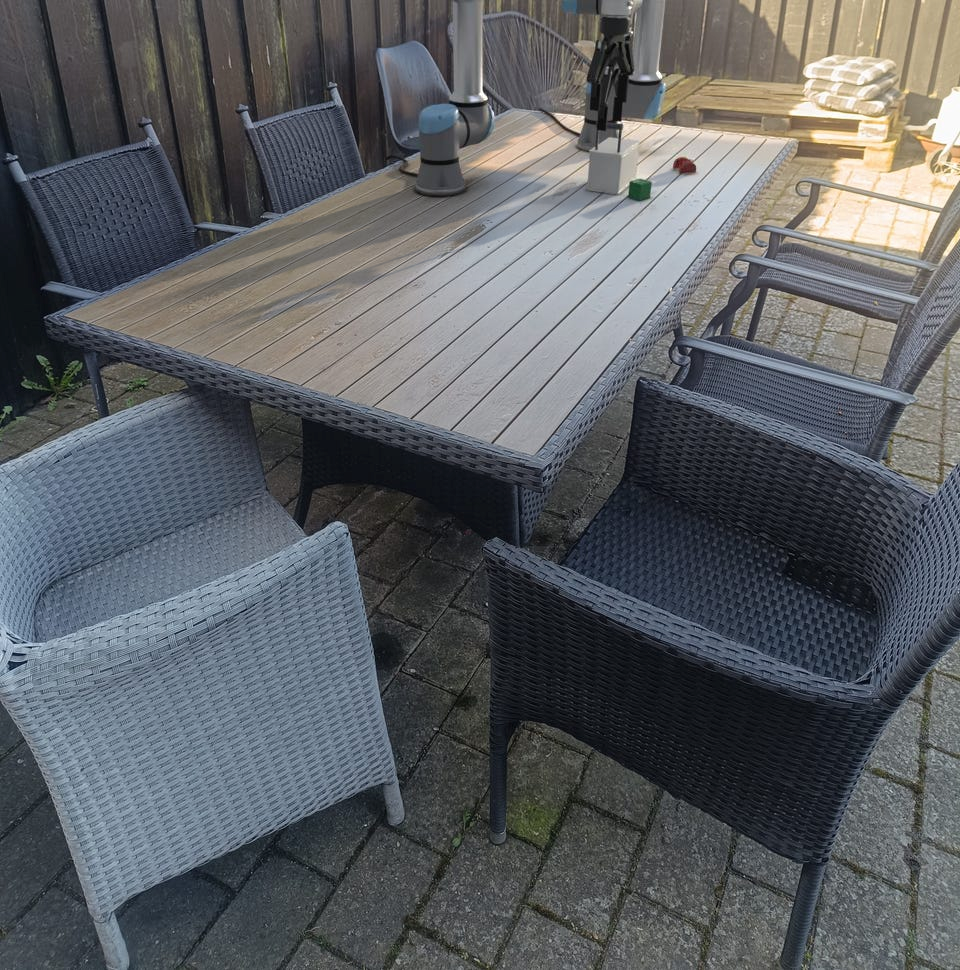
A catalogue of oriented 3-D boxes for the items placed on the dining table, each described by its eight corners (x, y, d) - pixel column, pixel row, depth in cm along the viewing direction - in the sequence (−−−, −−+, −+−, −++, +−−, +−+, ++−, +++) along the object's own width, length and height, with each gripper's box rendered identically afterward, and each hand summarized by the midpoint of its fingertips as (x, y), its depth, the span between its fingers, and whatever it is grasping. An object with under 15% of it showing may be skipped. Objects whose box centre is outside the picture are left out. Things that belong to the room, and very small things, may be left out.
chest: (618, 194, 254) (621, 157, 248) (587, 190, 258) (589, 153, 252) (635, 179, 267) (639, 143, 261) (605, 175, 271) (608, 140, 264)
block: (639, 200, 250) (641, 184, 247) (628, 196, 253) (629, 181, 250) (650, 197, 252) (651, 181, 249) (638, 194, 255) (640, 178, 252)
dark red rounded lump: (688, 153, 276) (699, 160, 270) (686, 166, 279) (697, 173, 272) (672, 155, 275) (682, 161, 269) (670, 168, 278) (681, 175, 271)
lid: (620, 157, 247) (623, 126, 242) (588, 153, 251) (591, 122, 246) (639, 143, 261) (642, 113, 255) (608, 140, 264) (611, 110, 259)
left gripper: (602, 22, 204) (595, 116, 216) (653, 12, 219) (644, 100, 232) (576, 19, 207) (570, 112, 220) (628, 10, 223) (620, 96, 236)
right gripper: (614, 51, 223) (607, 135, 235) (643, 39, 242) (634, 118, 254) (588, 49, 226) (582, 133, 238) (618, 37, 244) (611, 115, 256)
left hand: (608, 106), depth 226 cm, fingers open, 13 cm apart
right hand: (609, 125), depth 246 cm, fingers open, 13 cm apart
